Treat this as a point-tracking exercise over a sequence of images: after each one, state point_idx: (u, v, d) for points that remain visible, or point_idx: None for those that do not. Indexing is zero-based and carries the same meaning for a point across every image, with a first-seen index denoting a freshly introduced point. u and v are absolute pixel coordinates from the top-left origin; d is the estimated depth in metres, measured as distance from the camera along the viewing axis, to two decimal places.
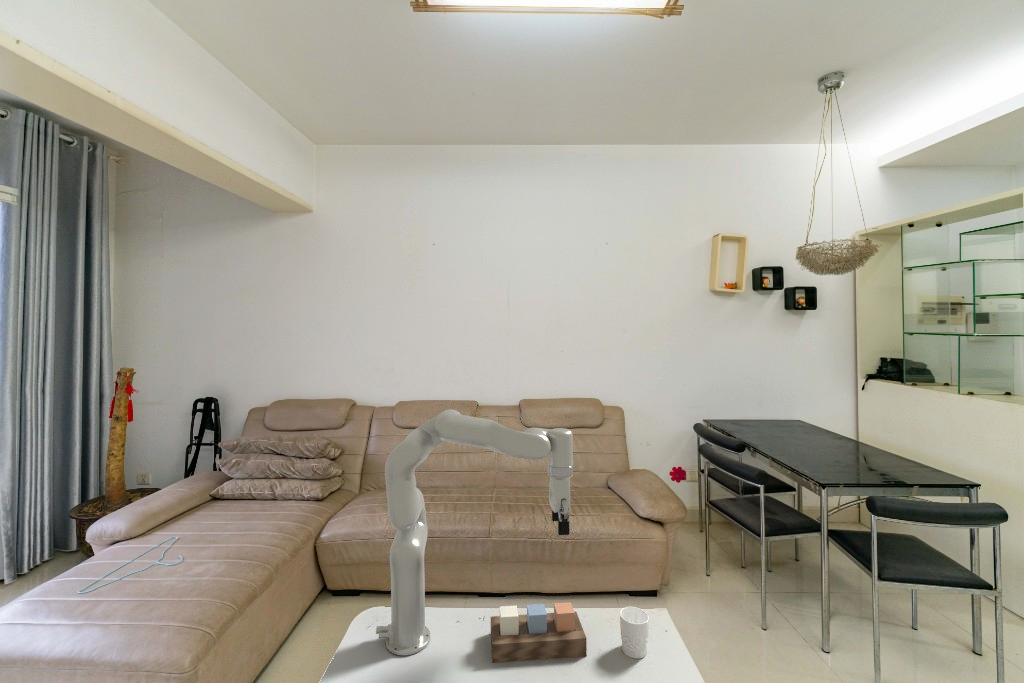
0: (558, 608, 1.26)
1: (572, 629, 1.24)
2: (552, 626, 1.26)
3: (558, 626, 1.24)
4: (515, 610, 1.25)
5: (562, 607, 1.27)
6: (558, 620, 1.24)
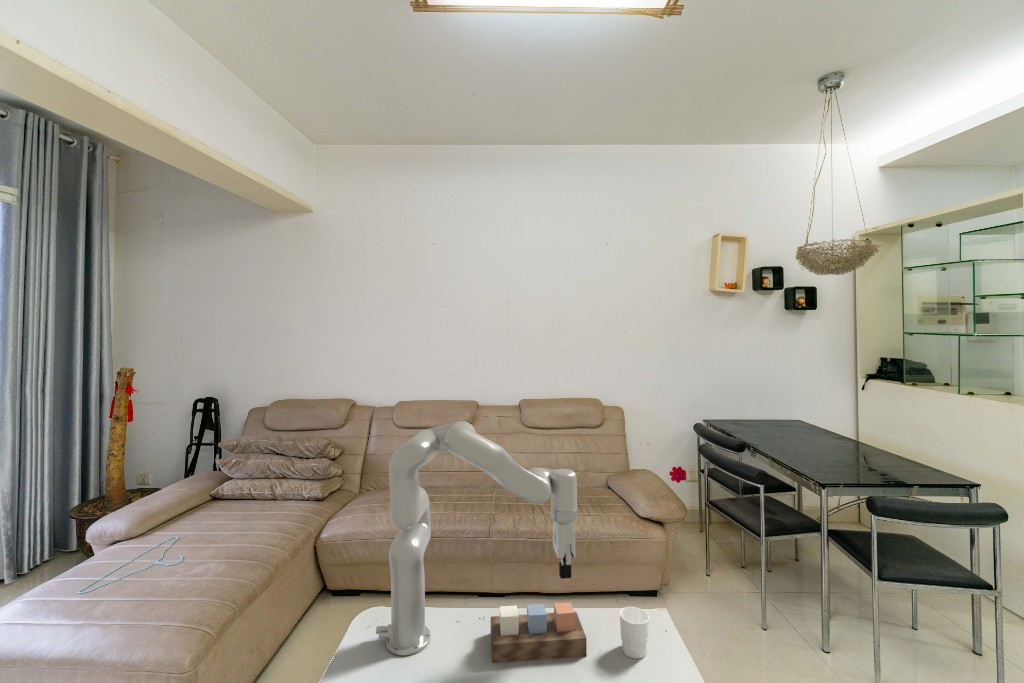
0: (558, 608, 1.26)
1: (572, 629, 1.24)
2: (552, 626, 1.26)
3: (558, 626, 1.24)
4: (515, 610, 1.25)
5: (562, 607, 1.27)
6: (558, 620, 1.24)
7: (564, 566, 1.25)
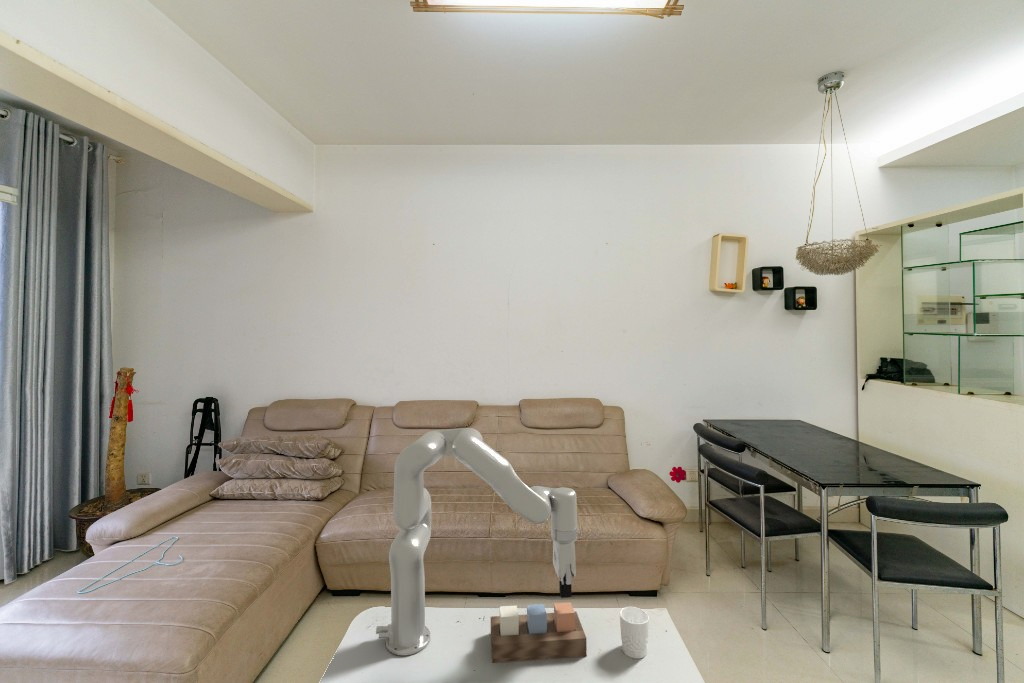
0: (558, 608, 1.26)
1: (572, 629, 1.24)
2: (552, 626, 1.26)
3: (558, 626, 1.24)
4: (515, 610, 1.25)
5: (562, 607, 1.27)
6: (558, 620, 1.24)
7: (564, 585, 1.25)
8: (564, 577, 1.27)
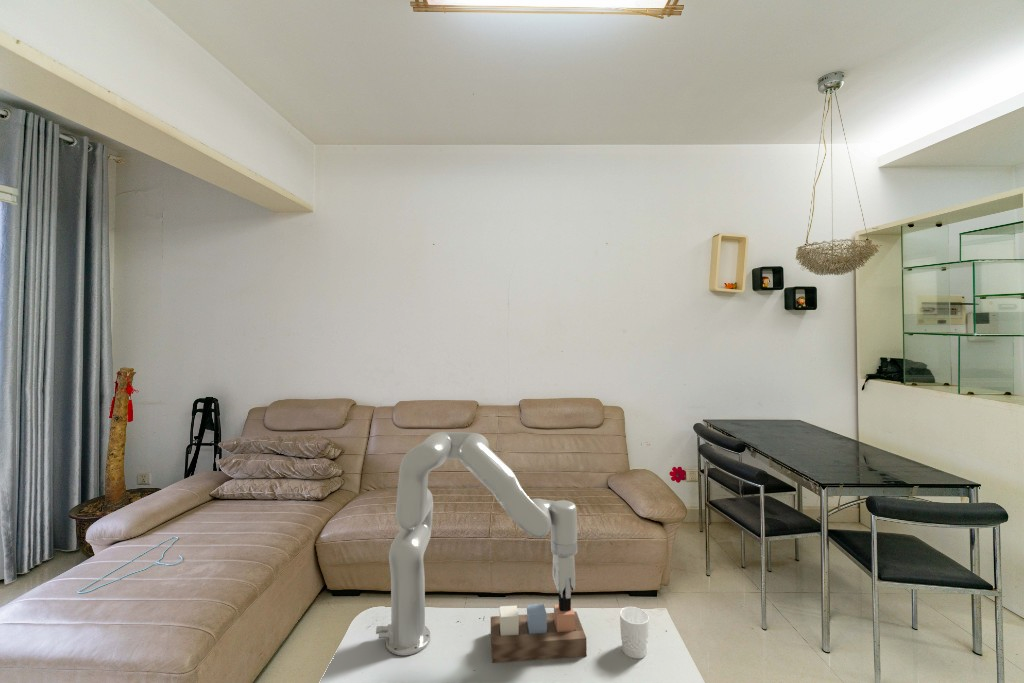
0: (558, 610, 1.26)
1: (572, 630, 1.24)
2: (552, 626, 1.26)
3: (558, 627, 1.24)
4: (515, 610, 1.25)
5: None
6: (558, 621, 1.24)
7: (564, 599, 1.25)
8: None
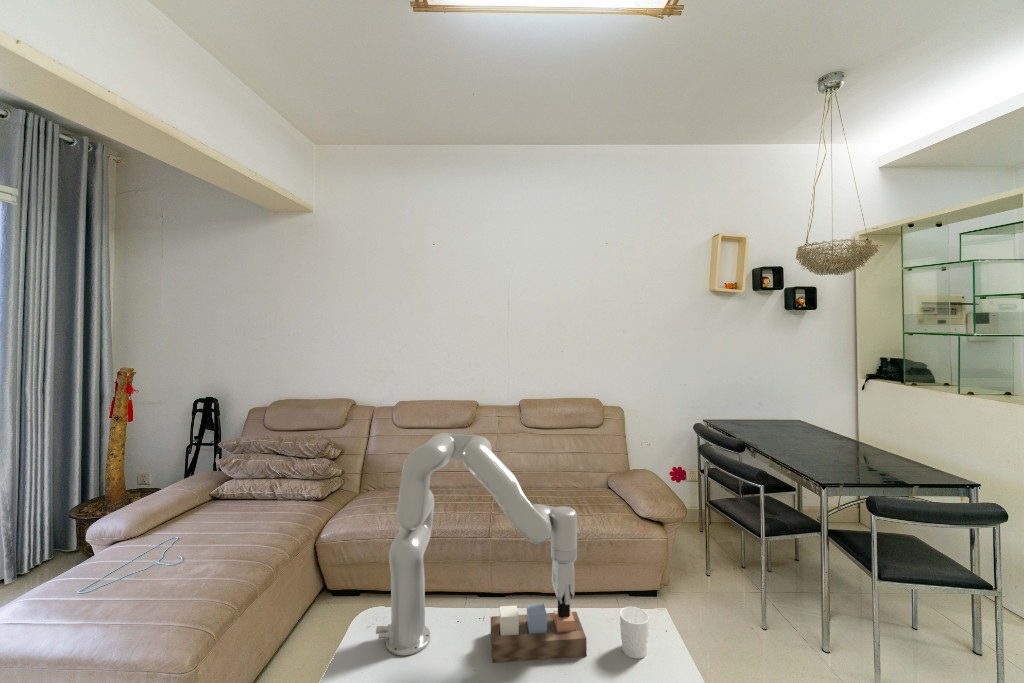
0: (558, 616, 1.26)
1: None
2: (552, 626, 1.26)
3: None
4: (515, 610, 1.25)
5: None
6: (558, 628, 1.24)
7: (563, 605, 1.25)
8: (563, 596, 1.27)
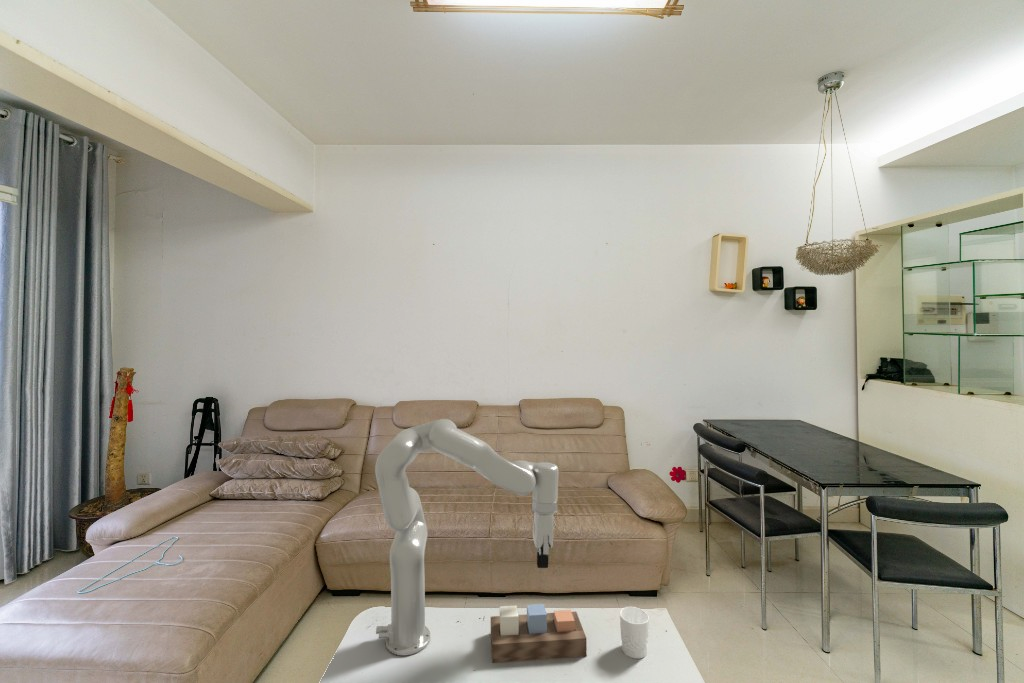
0: (558, 616, 1.26)
1: None
2: (552, 626, 1.26)
3: None
4: (515, 610, 1.25)
5: (562, 615, 1.27)
6: (558, 628, 1.24)
7: (541, 556, 1.29)
8: (542, 548, 1.32)
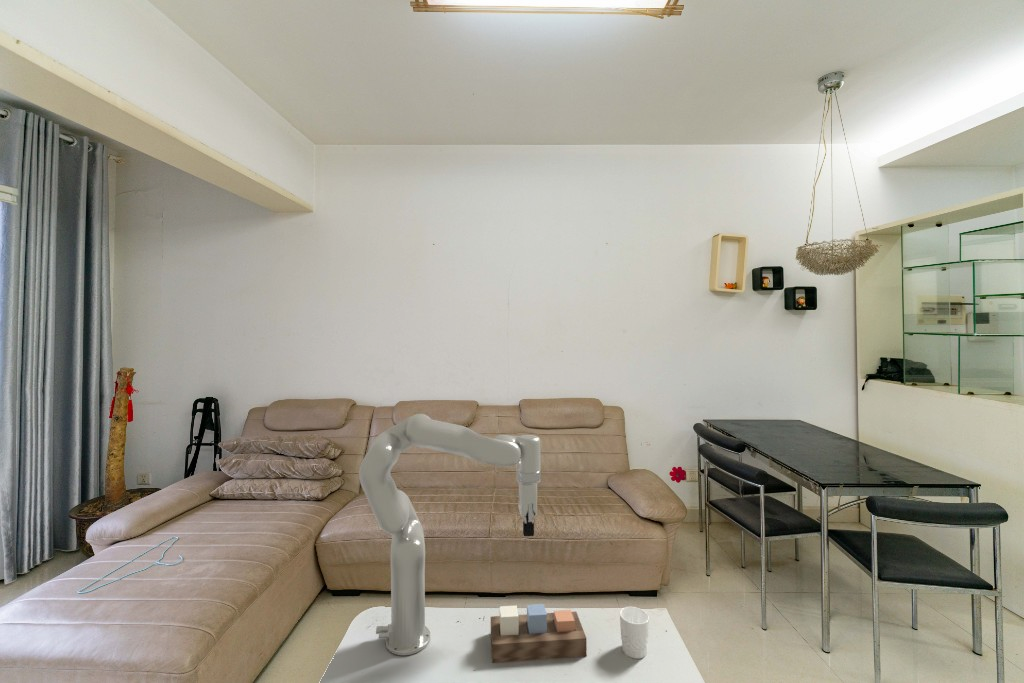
0: (558, 616, 1.26)
1: None
2: (552, 626, 1.26)
3: None
4: (515, 610, 1.25)
5: (562, 615, 1.27)
6: (558, 628, 1.24)
7: (527, 524, 1.34)
8: None
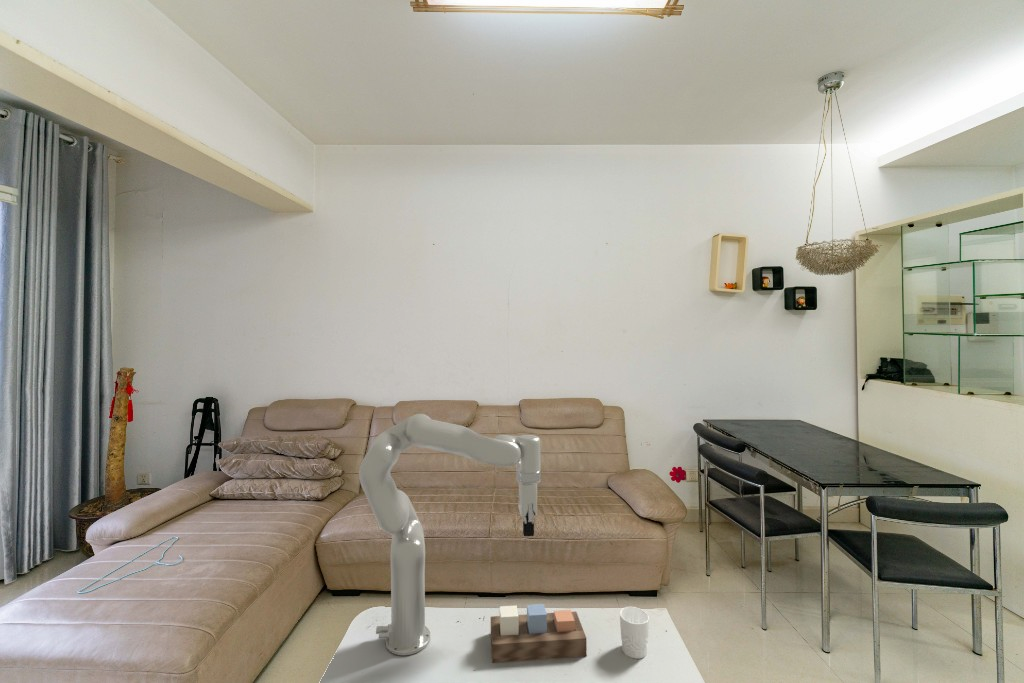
0: (558, 616, 1.26)
1: None
2: (552, 626, 1.26)
3: None
4: (515, 610, 1.25)
5: (562, 615, 1.27)
6: (558, 628, 1.24)
7: (527, 524, 1.34)
8: None
